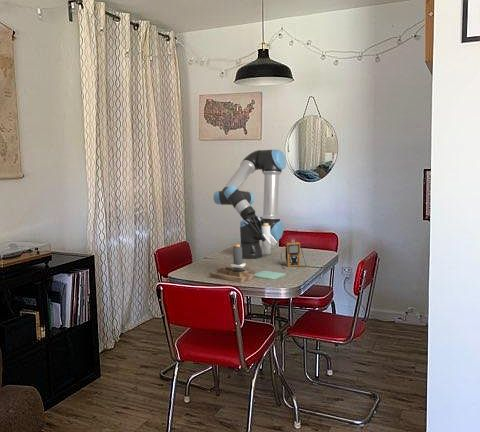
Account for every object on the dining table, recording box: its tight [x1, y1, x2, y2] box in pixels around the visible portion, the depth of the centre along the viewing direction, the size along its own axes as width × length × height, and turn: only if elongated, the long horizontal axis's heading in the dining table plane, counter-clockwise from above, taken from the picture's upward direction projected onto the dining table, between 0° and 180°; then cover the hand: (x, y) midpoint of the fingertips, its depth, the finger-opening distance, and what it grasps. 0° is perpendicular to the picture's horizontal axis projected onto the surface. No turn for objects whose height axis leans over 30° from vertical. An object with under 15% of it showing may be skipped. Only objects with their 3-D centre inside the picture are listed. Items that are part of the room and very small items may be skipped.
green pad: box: [254, 270, 287, 281], centre depth 250 cm, size 12×14×1 cm
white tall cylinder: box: [261, 223, 272, 255], centre depth 246 cm, size 4×4×15 cm
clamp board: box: [209, 266, 256, 283], centre depth 248 cm, size 11×20×4 cm, turn 51°
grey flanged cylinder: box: [229, 243, 247, 272], centre depth 244 cm, size 5×7×15 cm
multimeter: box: [280, 229, 307, 270], centre depth 265 cm, size 15×10×20 cm
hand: (272, 244), depth 244 cm, fingers closed on white tall cylinder, 4 cm apart
